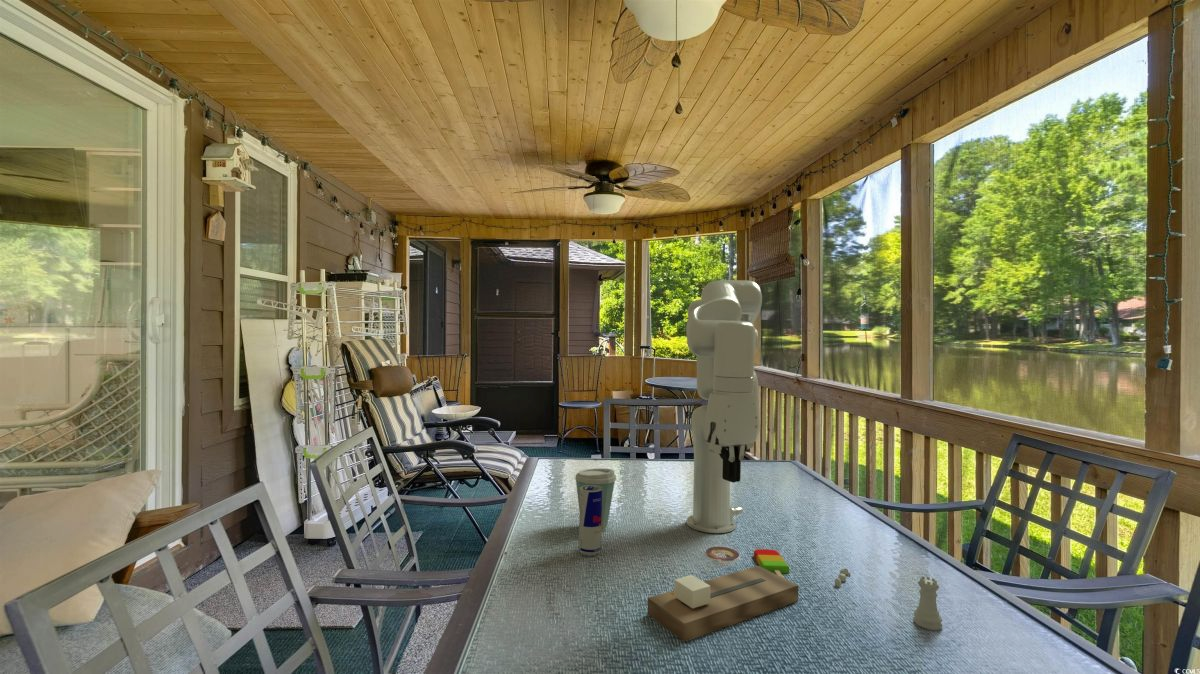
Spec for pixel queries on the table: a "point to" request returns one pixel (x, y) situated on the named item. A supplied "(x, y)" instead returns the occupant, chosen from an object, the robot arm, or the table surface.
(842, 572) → the game pieces
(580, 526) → the beverage can
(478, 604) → the table surface
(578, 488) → the disposable coffee cup
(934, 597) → the rook chess piece
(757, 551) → the popsicle
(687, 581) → the fader knob
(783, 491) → the table surface
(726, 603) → the console
